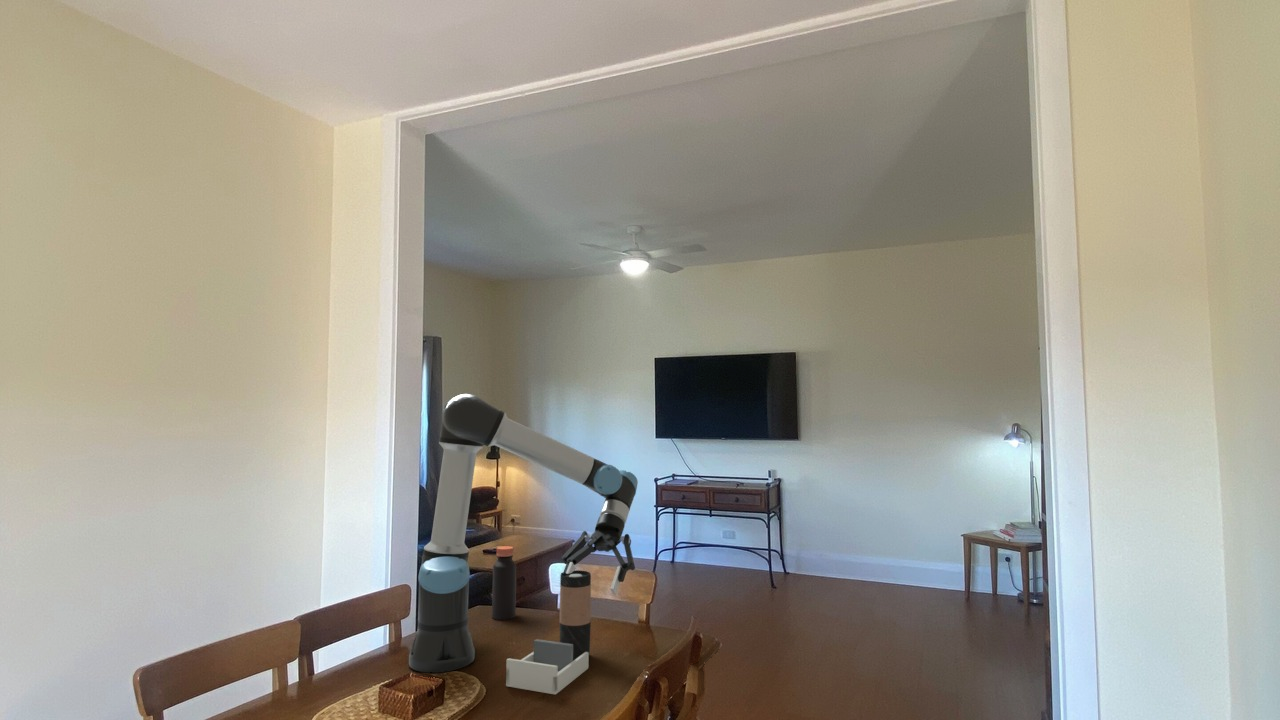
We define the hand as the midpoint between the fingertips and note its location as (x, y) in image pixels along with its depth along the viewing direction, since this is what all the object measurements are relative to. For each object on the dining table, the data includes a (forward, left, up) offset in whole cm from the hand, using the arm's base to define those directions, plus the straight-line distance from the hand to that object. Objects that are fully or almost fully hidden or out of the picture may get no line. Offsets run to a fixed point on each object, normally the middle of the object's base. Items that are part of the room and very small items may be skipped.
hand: (588, 589), depth 167 cm
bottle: (-36, +17, -15) cm, 42 cm away
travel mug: (-1, -5, -15) cm, 16 cm away
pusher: (-1, -16, -15) cm, 22 cm away
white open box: (-1, -18, -15) cm, 24 cm away
